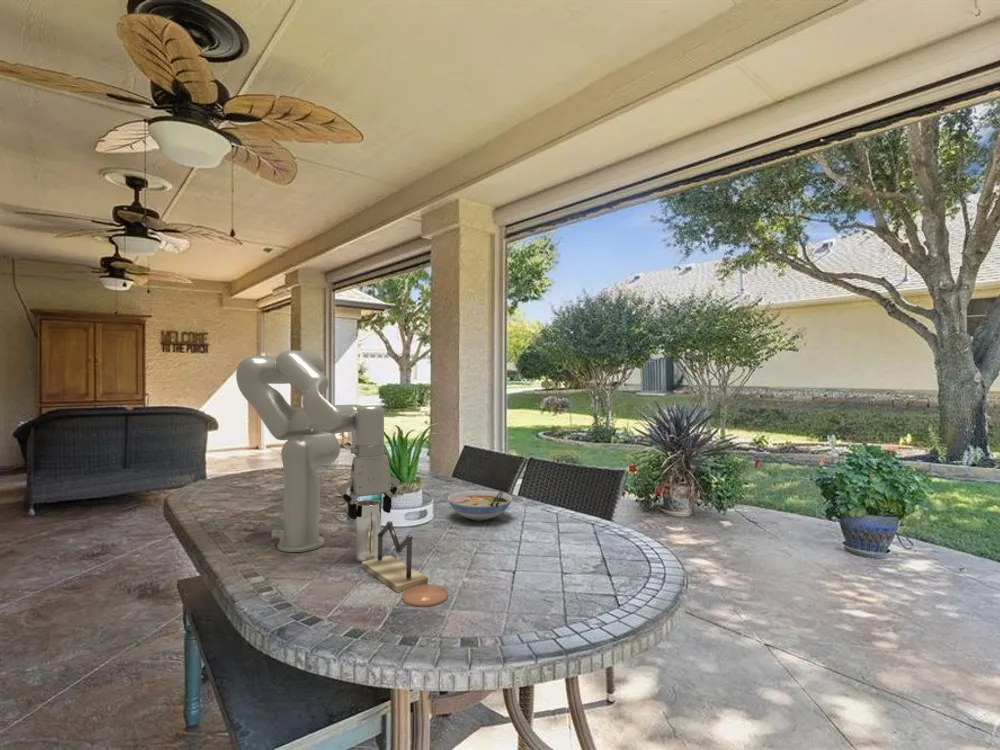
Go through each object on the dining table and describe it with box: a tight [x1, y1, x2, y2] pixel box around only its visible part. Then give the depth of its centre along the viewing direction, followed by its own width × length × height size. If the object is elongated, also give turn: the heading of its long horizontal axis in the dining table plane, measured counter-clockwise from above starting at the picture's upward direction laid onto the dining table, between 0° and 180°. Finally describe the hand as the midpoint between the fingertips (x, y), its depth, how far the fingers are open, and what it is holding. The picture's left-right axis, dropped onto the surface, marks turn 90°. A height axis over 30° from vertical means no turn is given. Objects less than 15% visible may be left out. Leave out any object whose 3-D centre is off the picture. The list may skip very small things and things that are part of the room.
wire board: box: [361, 555, 429, 593], centre depth 123 cm, size 19×8×2 cm, turn 40°
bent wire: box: [377, 521, 414, 578], centre depth 123 cm, size 16×2×11 cm, turn 40°
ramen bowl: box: [447, 489, 513, 522], centre depth 175 cm, size 25×23×8 cm
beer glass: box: [354, 499, 382, 563], centre depth 134 cm, size 7×7×15 cm
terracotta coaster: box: [401, 584, 449, 608], centre depth 111 cm, size 10×10×1 cm
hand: (370, 515), depth 134 cm, fingers open, 9 cm apart
